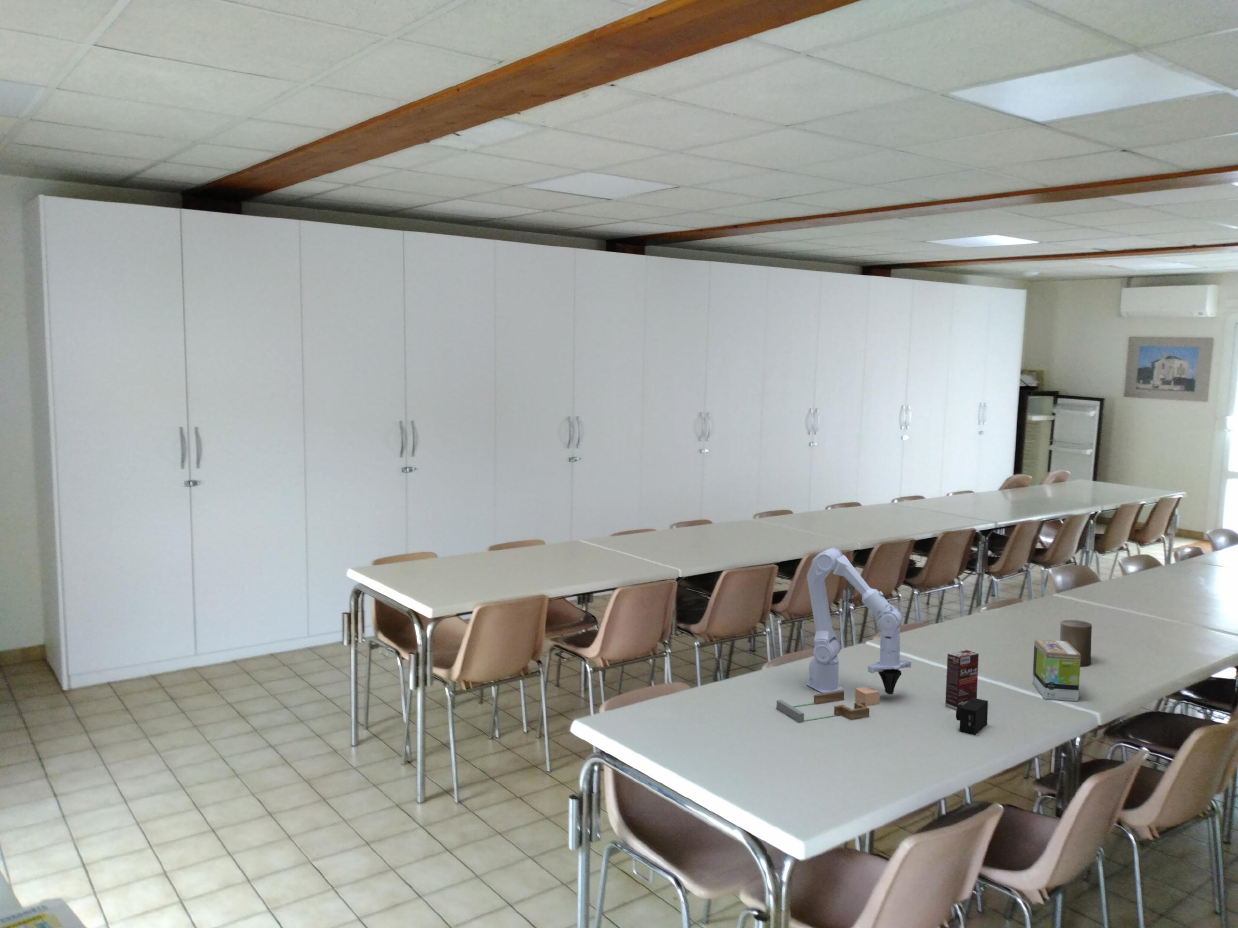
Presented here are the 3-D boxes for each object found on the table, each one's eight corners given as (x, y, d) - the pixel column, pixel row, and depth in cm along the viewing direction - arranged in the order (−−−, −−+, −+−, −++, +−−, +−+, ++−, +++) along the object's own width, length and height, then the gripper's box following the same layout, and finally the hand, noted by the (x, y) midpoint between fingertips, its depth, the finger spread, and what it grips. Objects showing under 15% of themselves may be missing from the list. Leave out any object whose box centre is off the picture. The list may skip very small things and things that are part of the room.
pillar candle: (1096, 666, 304) (1097, 622, 303) (1066, 666, 304) (1068, 622, 303) (1081, 658, 314) (1083, 615, 312) (1053, 658, 314) (1055, 615, 313)
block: (855, 701, 272) (855, 688, 272) (868, 699, 274) (869, 686, 274) (865, 706, 267) (865, 693, 267) (879, 704, 269) (879, 691, 269)
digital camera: (967, 720, 256) (968, 696, 256) (987, 724, 253) (988, 700, 252) (954, 730, 248) (955, 706, 248) (975, 735, 245) (975, 710, 244)
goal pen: (776, 708, 266) (776, 700, 266) (811, 702, 270) (811, 694, 270) (799, 722, 255) (799, 713, 254) (835, 716, 259) (835, 707, 259)
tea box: (1079, 701, 270) (1081, 653, 269) (1043, 699, 272) (1045, 651, 271) (1065, 685, 285) (1067, 639, 284) (1031, 683, 287) (1033, 638, 286)
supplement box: (958, 710, 263) (959, 657, 262) (944, 705, 268) (946, 653, 266) (977, 705, 268) (979, 653, 266) (964, 700, 272) (966, 649, 270)
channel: (813, 702, 270) (813, 694, 270) (841, 698, 274) (841, 690, 274) (845, 720, 256) (845, 712, 256) (874, 715, 260) (874, 707, 259)
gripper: (878, 655, 266) (878, 700, 267) (918, 649, 271) (917, 693, 272) (863, 649, 272) (863, 692, 274) (902, 643, 278) (901, 686, 279)
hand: (889, 692), depth 273 cm, fingers closed
